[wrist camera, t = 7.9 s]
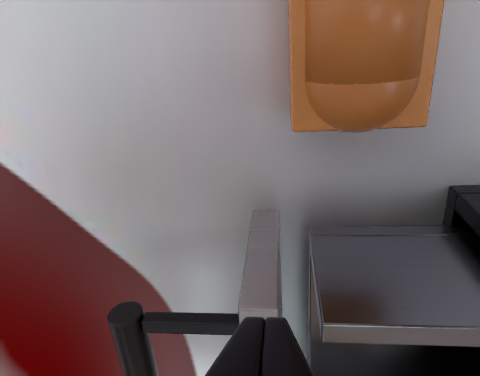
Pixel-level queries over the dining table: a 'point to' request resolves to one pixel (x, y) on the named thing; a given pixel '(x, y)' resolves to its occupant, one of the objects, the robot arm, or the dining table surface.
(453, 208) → the black drawer cabinet
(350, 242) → the grey pull-out drawer
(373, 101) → the bread loaf
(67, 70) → the dining table surface
